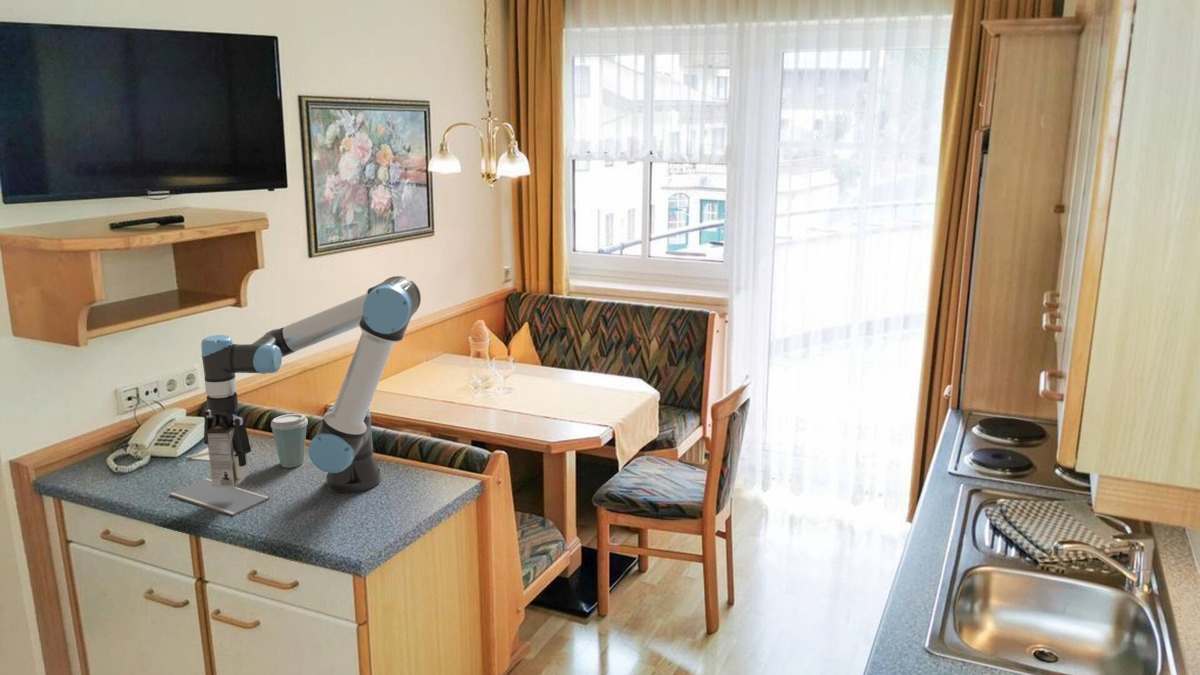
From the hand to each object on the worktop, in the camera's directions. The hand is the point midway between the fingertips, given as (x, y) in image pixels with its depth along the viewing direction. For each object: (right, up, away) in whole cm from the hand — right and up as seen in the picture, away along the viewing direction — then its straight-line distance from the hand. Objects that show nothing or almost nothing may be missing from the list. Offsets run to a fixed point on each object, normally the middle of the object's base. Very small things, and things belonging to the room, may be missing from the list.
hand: (230, 472), depth 245 cm
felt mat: (-5, -8, +5) cm, 10 cm away
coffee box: (0, -3, +1) cm, 3 cm away
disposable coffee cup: (+8, -2, +28) cm, 29 cm away
